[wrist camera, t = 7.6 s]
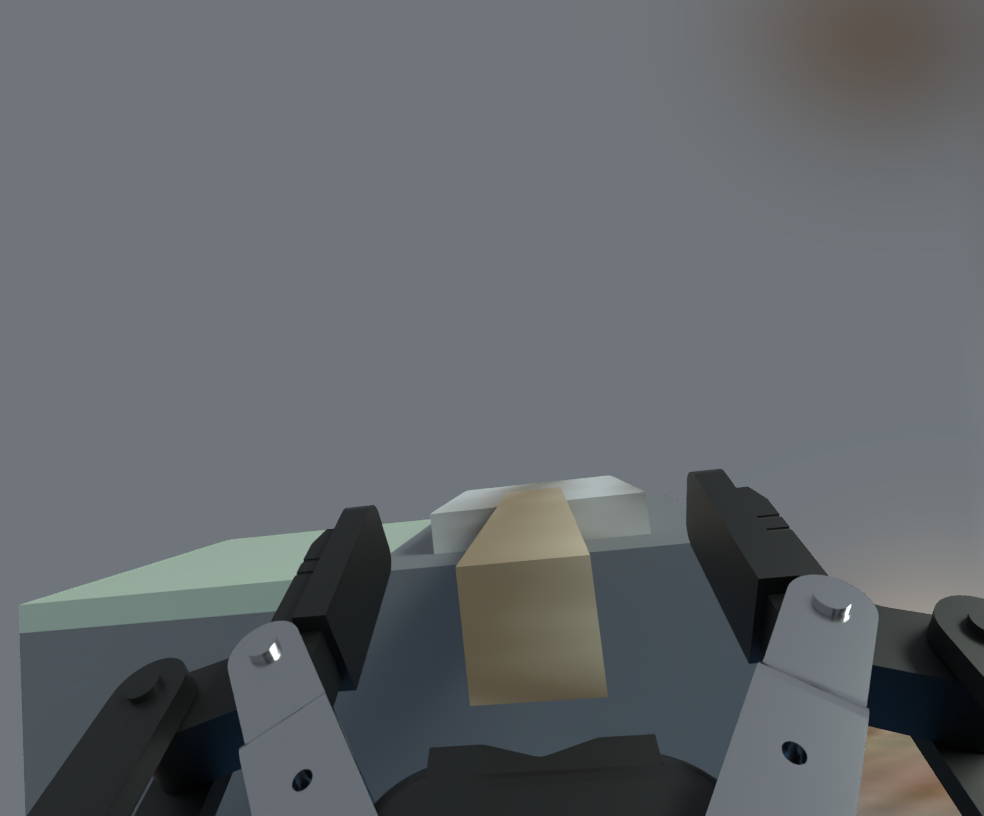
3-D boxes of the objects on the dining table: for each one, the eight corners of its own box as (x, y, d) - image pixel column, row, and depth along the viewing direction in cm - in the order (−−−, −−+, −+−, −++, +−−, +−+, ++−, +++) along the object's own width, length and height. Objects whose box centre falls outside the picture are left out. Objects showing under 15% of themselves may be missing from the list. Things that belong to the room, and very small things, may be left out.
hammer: (614, 503, 27) (609, 466, 27) (828, 682, 7) (804, 534, 7) (469, 517, 27) (465, 481, 27) (275, 718, 7) (265, 584, 8)
